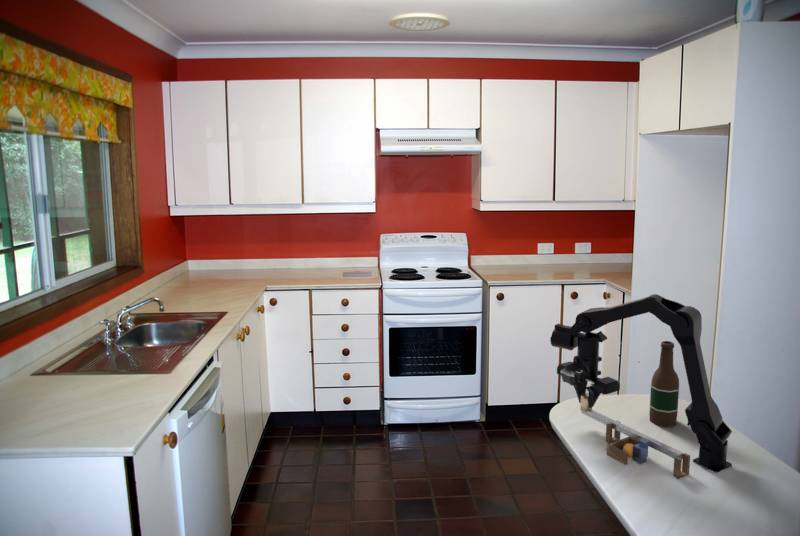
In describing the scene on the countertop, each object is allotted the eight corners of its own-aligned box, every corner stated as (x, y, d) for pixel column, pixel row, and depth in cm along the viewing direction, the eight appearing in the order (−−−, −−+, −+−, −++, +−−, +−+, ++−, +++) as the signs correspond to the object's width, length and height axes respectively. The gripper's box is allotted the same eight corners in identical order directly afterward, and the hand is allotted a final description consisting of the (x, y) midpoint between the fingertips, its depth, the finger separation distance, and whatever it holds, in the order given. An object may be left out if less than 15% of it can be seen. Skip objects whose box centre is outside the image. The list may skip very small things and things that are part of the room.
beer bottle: (672, 415, 175) (676, 338, 170) (681, 427, 167) (687, 346, 163) (645, 415, 176) (649, 338, 171) (653, 427, 168) (657, 346, 163)
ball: (643, 451, 151) (635, 458, 153) (634, 439, 153) (626, 446, 155) (633, 455, 149) (626, 462, 151) (624, 442, 151) (617, 449, 153)
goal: (628, 446, 157) (629, 436, 157) (647, 456, 152) (648, 445, 152) (606, 455, 154) (607, 444, 153) (625, 465, 148) (626, 454, 148)
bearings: (616, 437, 163) (616, 420, 162) (689, 474, 144) (690, 455, 143) (605, 441, 161) (606, 424, 160) (678, 479, 142) (679, 459, 141)
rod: (585, 421, 172) (586, 392, 170) (684, 471, 144) (686, 436, 142) (569, 426, 169) (570, 397, 167) (667, 478, 141) (669, 443, 140)
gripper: (543, 349, 170) (542, 400, 173) (592, 369, 154) (590, 424, 157) (571, 342, 175) (570, 391, 178) (622, 361, 159) (619, 415, 162)
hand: (586, 405), depth 169 cm, fingers closed on rod, 3 cm apart
